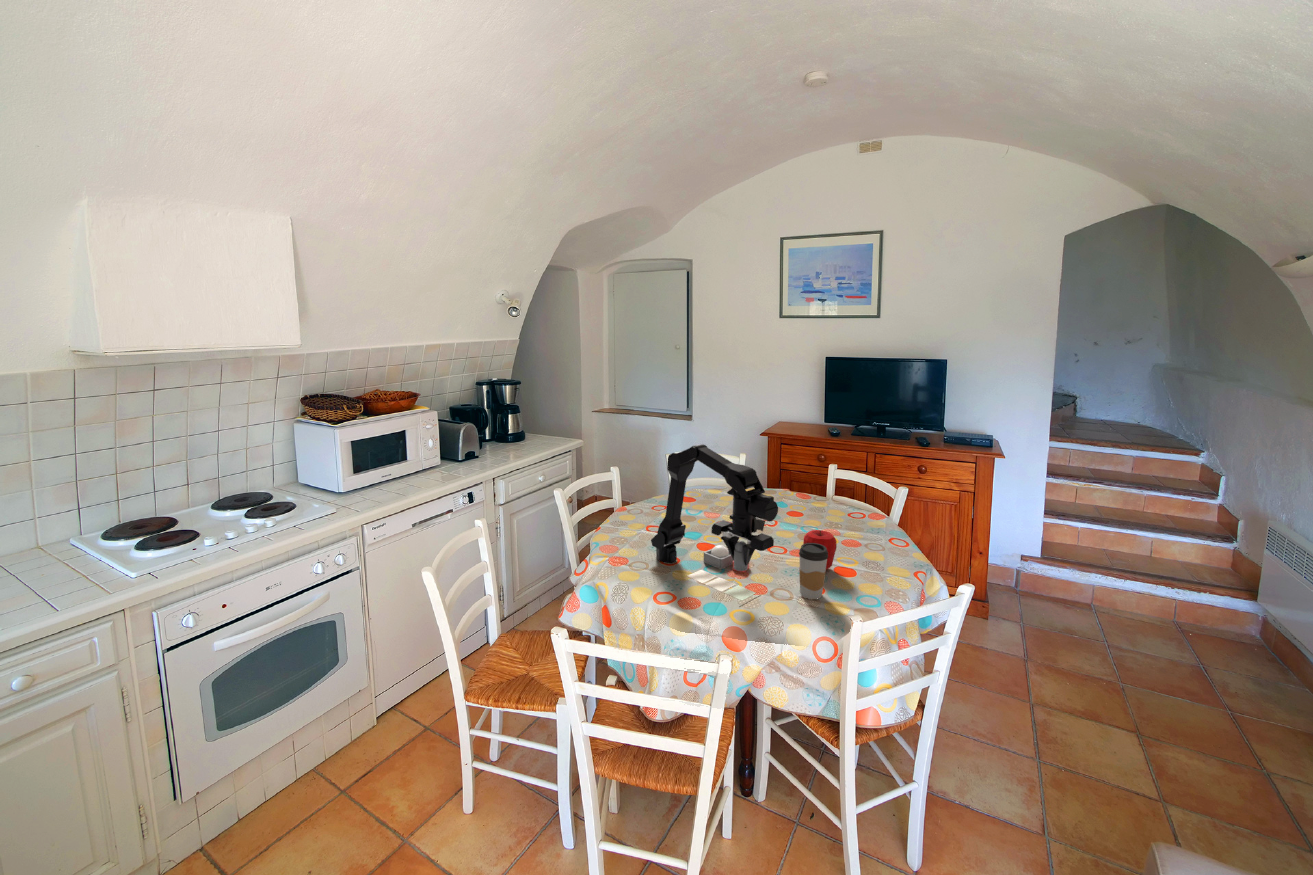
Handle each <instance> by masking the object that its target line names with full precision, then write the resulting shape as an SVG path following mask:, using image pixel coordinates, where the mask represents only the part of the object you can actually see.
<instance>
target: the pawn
mask: <svg viewBox="0 0 1313 875" xmlns="http://www.w3.org/2000/svg"><path fill="white" fill-rule="evenodd" d="M745 544H747V542H745V541H744V540H738V542H737V543H736V545H735V549H734V569H735V570H737V572H739V571H745V570H746V571H747V570H748V569H747V566H748V565H745V563H744V555H743V545H745ZM735 570H734V571H735ZM746 571H745V572H746Z"/></svg>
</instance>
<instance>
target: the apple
mask: <svg viewBox="0 0 1313 875" xmlns="http://www.w3.org/2000/svg"><path fill="white" fill-rule="evenodd" d="M805 543H817V544H821V545H823V546H825V547H826V548H827V551H828V558H827V564H826V571H827V570H829V569H830V568H831V567H832V566H833V563H834V559H835V555H836V551H837V545H838V544H837V539H836V537H835V536H834V535H833V533H831V532H829V531H827V530H822V529H812V530H809V531H808V532H806V533H805V535H804V536H803V544H805ZM803 544H802V545H803Z"/></svg>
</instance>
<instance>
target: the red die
mask: <svg viewBox="0 0 1313 875" xmlns="http://www.w3.org/2000/svg"><path fill="white" fill-rule="evenodd" d="M749 568H750V563H749V564H748V566H747V570H749ZM747 570H745V571H737V570H735V569H734V561H733V564H732V571H735V572H736V571H737V572H741V573H745V572H747Z"/></svg>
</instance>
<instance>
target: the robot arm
mask: <svg viewBox="0 0 1313 875" xmlns="http://www.w3.org/2000/svg"><path fill="white" fill-rule="evenodd" d="M696 462H699V463H701V464H703V465H704V466H706V467H708V468H709V469H711V470H713V471H714V472H716V473H717V474H719V475H721V477H723V478H724V480H725V483H726V484H727V485H728V486H730V487H731V488H730V489H729V490H728V491H726V493H727V495H730V496H732V514H729V520H731V522H730V521H728V520H725V519H723V520H720V521H717V522H715V523H713V524H712V526H711V534H712V535H716V536H720V535H721V534H722V536H721V537H720V540H722V541H723V543H724V545H725V547H726V548H727V549H728V550H729V552H730V554H731V556H732V559H733V560H734V549H735V545H736V543H737V542H739V541H740V538H741V539H744V540H746V541H747V542H746V544H745V545H743V555H744V563H745V565H748V564H749V565H750V561H751V558H752V557H753V554H754V552H755V551H756V550H757V551H759V552H763V551H766V550H768V549H770V548H773V547H775V546H774V544H775V541H774V540H775V539H774V537H772V535H768V534H765V533H758V534H755V533H757V531H761V532H764V529H765V523H766V521H767V522H769V523H771V522H773V521H774V520H775V519H776V517H777V516H778V512H779V506H778V503H777V502H776V501H775V498H774V496H772V495H768V494H764V493H766V491H765V489H764V487H763V485H762V483H761V481H760V479H759V476H758V475H757V471H756V470H755V469H754V468H753V467H751V466H748V465H745V464H739V463H734V462H732V461H730V460H729V459H727V458H725V457H724V456H722V455H720V454H719V453H717V452H716V451H714V450H712V449H710V448H709V447H708V446H707V445H706V444H703V443H702V444H701V443H699V444H696V445H692V446H691V447H689V448H687V449H684V450H681V451H675V452H672V453H670V454H669V455H668V456H667V468H666V469H667V472H668V474H669V476H670V481H669V482H670V483H669V488H668V496H667V501H666V509H665V517H664V518H663V519H662V520H661V522H660V524H659V525H658V529H657V531H656V532H657V533H656V534H655V535H654V537H652V538H651V540H650V542H651V546H652V547H654V548H655V550H656V552H655V554H656V555H655V556H656V557H655V558H657V560H658V561H659V562H661V563H665V564H667V563H668V564H673V563H676V562H677V556H678V555H677V554H678V552H677V545H678V544H680V543H681V541H682V539H683V538H684V537H685V535H686V528H687V526H686V524H684V523H683V521H682V519H681V516H682V511H683V504H684V498H685V492H686V491H685V490H686V487H687V486H686V484H687V479H688V478H689V477H690V475H691V473H692V472H693V470H694V466H695V464H696ZM752 488H753V489H752ZM753 533H754V534H755V535H754V534H753Z"/></svg>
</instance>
